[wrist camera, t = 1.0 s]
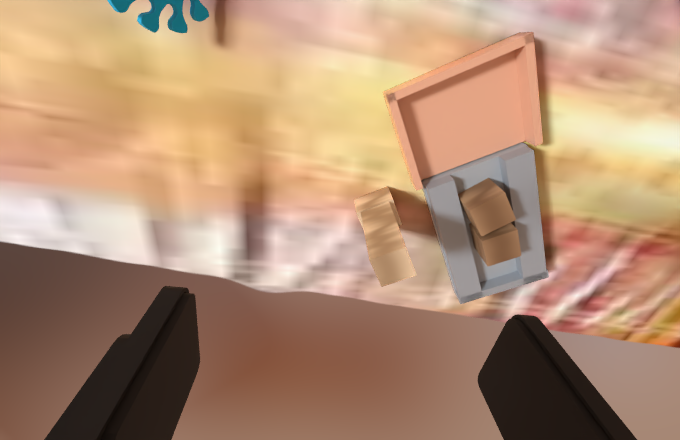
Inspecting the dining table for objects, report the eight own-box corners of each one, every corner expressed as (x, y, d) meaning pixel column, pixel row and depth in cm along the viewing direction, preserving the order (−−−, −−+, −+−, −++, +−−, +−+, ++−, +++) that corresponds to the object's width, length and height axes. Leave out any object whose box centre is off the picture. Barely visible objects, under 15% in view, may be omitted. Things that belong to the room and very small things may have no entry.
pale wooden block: (387, 186, 38) (411, 244, 28) (396, 210, 40) (422, 274, 29) (353, 199, 39) (363, 261, 28) (364, 222, 41) (377, 289, 30)
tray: (519, 32, 31) (533, 32, 29) (530, 137, 36) (543, 143, 34) (382, 92, 33) (386, 95, 31) (411, 182, 38) (416, 190, 36)
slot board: (521, 142, 36) (535, 149, 34) (536, 264, 45) (548, 277, 43) (420, 180, 38) (426, 190, 36) (453, 290, 47) (460, 304, 45)
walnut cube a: (500, 212, 39) (517, 229, 36) (505, 237, 41) (521, 255, 38) (468, 223, 40) (482, 241, 36) (474, 247, 42) (487, 266, 38)
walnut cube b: (488, 177, 37) (505, 192, 33) (499, 203, 39) (516, 219, 35) (456, 194, 38) (469, 210, 34) (468, 219, 40) (481, 236, 36)
